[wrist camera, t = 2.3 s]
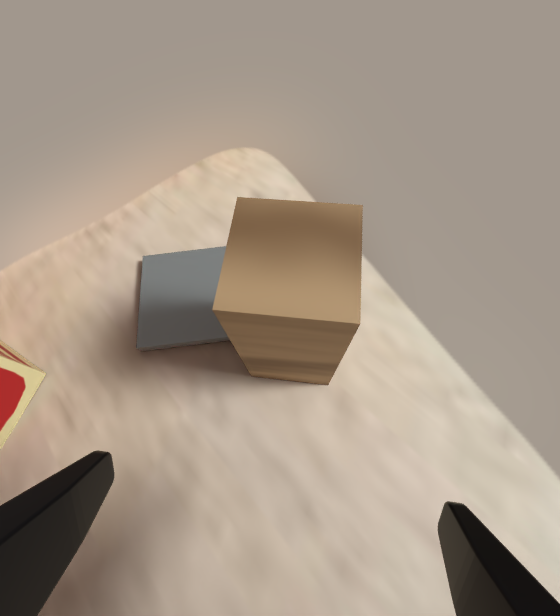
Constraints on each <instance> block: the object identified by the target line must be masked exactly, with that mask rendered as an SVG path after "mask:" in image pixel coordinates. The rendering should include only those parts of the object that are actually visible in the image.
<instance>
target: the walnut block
mask: <svg viewBox="0 0 560 616" xmlns="http://www.w3.org/2000/svg"><path fill="white" fill-rule="evenodd" d="M362 207H363V205H352V204H336V203H320V202H305V201H289V200H274V199H258V198H242V197H237V201H236V206H235V210H234V215H233V219H232V224H231V228H230V233H229V237H228V242H227V246H226V251H225V255H224V259H223V264H222V268H221V273H220V277H219V282H218V286H217V291H216V295H215V300H214V304H213V309H212V310H213V312H214V314H215V315H216V317H217V319H218V320H219V322H220V324H221V325H222V327H223V329H224V331H225V332H226V334H227V336H228V337H229V339H230V341H231V342H232V344H233V346H234V348H235V349H236V351H237V353H238V354H239V356H240V358H241V359H242V361H243V363H244V365H245V366H246V368H247V370H248V371H249V373H250V375H251V376H253V377H262V378H271V379H280V380H288V381H297V382H306V383H315V384H324V385H328V384H329V382H330V380H331V379H332V377H333V375H334V373H335V371H336V369H337V367H338V365H339V363H340V361H341V359H342V358H343V356H344V354H345V352H346V350H347V348H348V346H349V344H350V342H351V340H352V339H353V337H354V335H355V333H356V331H357V329H358V327H359V325H360V309H361V260H362V211H363V210H362V209H363V208H362Z"/></svg>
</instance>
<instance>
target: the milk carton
mask: <svg viewBox="0 0 560 616" xmlns="http://www.w3.org/2000/svg"><path fill="white" fill-rule="evenodd" d="M45 375H46V373H44V372H43V371H42V370H40V369H39V368H37V367H36V366H35V365H33V364H32V363H31V362H29V361H28V360H26V359H25V358H24V357H22V356H21V355H20V354H18V353H17V352H16V351H14V350H13V349H11V348H10V347H9V346H7V345H6V344H5V343H3V342H2V341H0V449H1V448H2V446H3V445H4V443H5V442H6V440H7V438H8V437H9V435H10V434H11V432H12V430H13V429H14V427H15V426H16V424H17V422H18V421H19V419H20V417H21V415H22V414H23V412H24V410H25V409H26V407H27V405H28V404H29V402H30V400H31V399H32V397H33V395H34V393H35V392H36V390H37V388H38V387H39V385H40V383H41V382H42V380H43V378H44V376H45Z"/></svg>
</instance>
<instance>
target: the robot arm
mask: <svg viewBox="0 0 560 616" xmlns="http://www.w3.org/2000/svg"><path fill="white" fill-rule="evenodd" d="M113 480H114V468H113V461H112V456H111V454H110V453H109V452H104V451H94V452H92V453H90V454H88V455H87V456H85V457H83V458H81V459H80V460H78V461H76V462H75V463H73V464H71V465H69V466H68V467H66V468H64V469H63V470H61V471H59V472H57V473H56V474H54V475H52V476H50V477H49V478H47V479H45V480H44V481H42V482H40V483H38V484H37V485H35V486H33V487H32V488H30V489H28V490H26V491H25V492H23V493H21V494H20V495H18V496H16V497H14V498H13V499H11V500H9V501H8V502H6V503H4V504H2V505H1V506H0V616H37V615H38V613H39V612H40V610H41V609H42V607H43V605H44V604H45V602H46V601H47V599H48V597H49V596H50V594H51V592H52V591H53V589H54V588H55V586H56V584H57V583H58V581H59V580H60V578H61V576H62V575H63V573H64V571H65V570H66V568H67V567H68V565H69V563H70V562H71V560H72V559H73V557H74V555H75V554H76V552H77V550H78V549H79V547H80V545H81V544H82V542H83V540H84V538H85V536H86V534H87V533H88V531H89V529H90V527H91V525H92V523H93V521H94V519H95V517H96V515H97V513H98V511H99V509H100V507H101V505H102V503H103V501H104V499H105V497H106V495H107V493H108V491H109V489H110V487H111V485H112V483H113ZM438 535H439V540H440V544H441V549H442V554H443V558H444V563H445V568H446V573H447V577H448V582H449V587H450V591H451V596H452V600H453V604H454V608H455V612H456V615H457V616H560V604H559V602H558V601H557V600H556V599H555V598H554V597H553V596H552V595H551V594H550V593H549V592H548V591H547V590H546V589H545V588H544V587H543V586H542V585H541V584H540V583H539V582H538V581H537V580H536V578H535V577H534V576H533V575H532V574H531V573H530V572H529V571H528V570H527V569H526V568H525V567H524V566H523V565H522V564H521V563H520V562H519V561H518V560H517V559H516V558H515V557H514V556H513V554H512V553H511V552H510V551H509V550H508V549H507V548H506V547H505V546H504V545H503V544H502V543H501V542H500V541H499V540H498V539H497V538H496V537H495V536H494V535H493V534H492V533H491V532H490V530H489V529H488V528H487V527H486V526H485V525H484V524H483V523H482V522H481V521H480V520H479V519H478V518H477V517H476V516H475V515H474V514H473V513H472V512H471V511H470V510H469V509H468V508H467V507H466V506H465V505H464V504H462V503H457V502H450V501H448V502H446V503H445V504H444V507H443V510H442V513H441V516H440V519H439V522H438Z"/></svg>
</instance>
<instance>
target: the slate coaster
mask: <svg viewBox="0 0 560 616" xmlns="http://www.w3.org/2000/svg"><path fill="white" fill-rule="evenodd" d="M225 251H226V246H224V247H216V248H207V249H199V250H191V251H182V252H174V253H165V254H157V255H149V256H143V262H142V276H141V290H140V304H139V318H138V332H137V345H136V348H137V349H138V350H140V351H147V350H155V349H163V348H171V347H179V346H188V345H196V344H204V343H212V342H220V341H228V340H230V339H229V337H228V336H227V334H226V332H225V331H224V329H223V327H222V325H221V324H220V322H219V320H218V319H217V317H216V315H215V314H214V312H213V310H212V309H213V304H214V300H215V295H216V291H217V286H218V282H219V277H220V273H221V268H222V264H223V259H224V255H225Z"/></svg>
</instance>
